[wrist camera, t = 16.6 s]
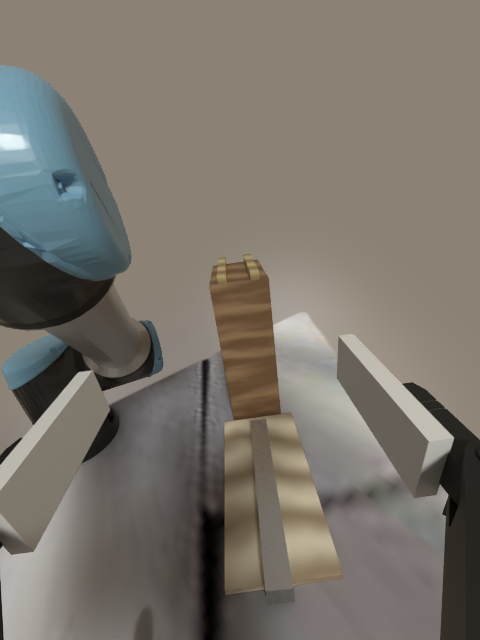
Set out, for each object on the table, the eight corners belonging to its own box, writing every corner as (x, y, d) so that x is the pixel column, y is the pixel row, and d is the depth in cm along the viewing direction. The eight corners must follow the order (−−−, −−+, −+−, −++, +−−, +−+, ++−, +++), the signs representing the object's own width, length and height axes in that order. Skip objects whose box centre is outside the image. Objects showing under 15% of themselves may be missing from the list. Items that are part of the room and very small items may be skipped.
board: (342, 578, 31) (343, 574, 30) (225, 594, 31) (224, 590, 30) (291, 416, 55) (290, 412, 54) (225, 425, 55) (224, 422, 54)
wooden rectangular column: (280, 414, 55) (267, 268, 43) (234, 420, 55) (207, 277, 43) (268, 370, 70) (256, 252, 57) (232, 376, 70) (211, 259, 57)
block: (294, 601, 29) (293, 588, 28) (267, 604, 29) (265, 591, 28) (267, 430, 51) (265, 418, 50) (251, 432, 51) (250, 420, 50)
